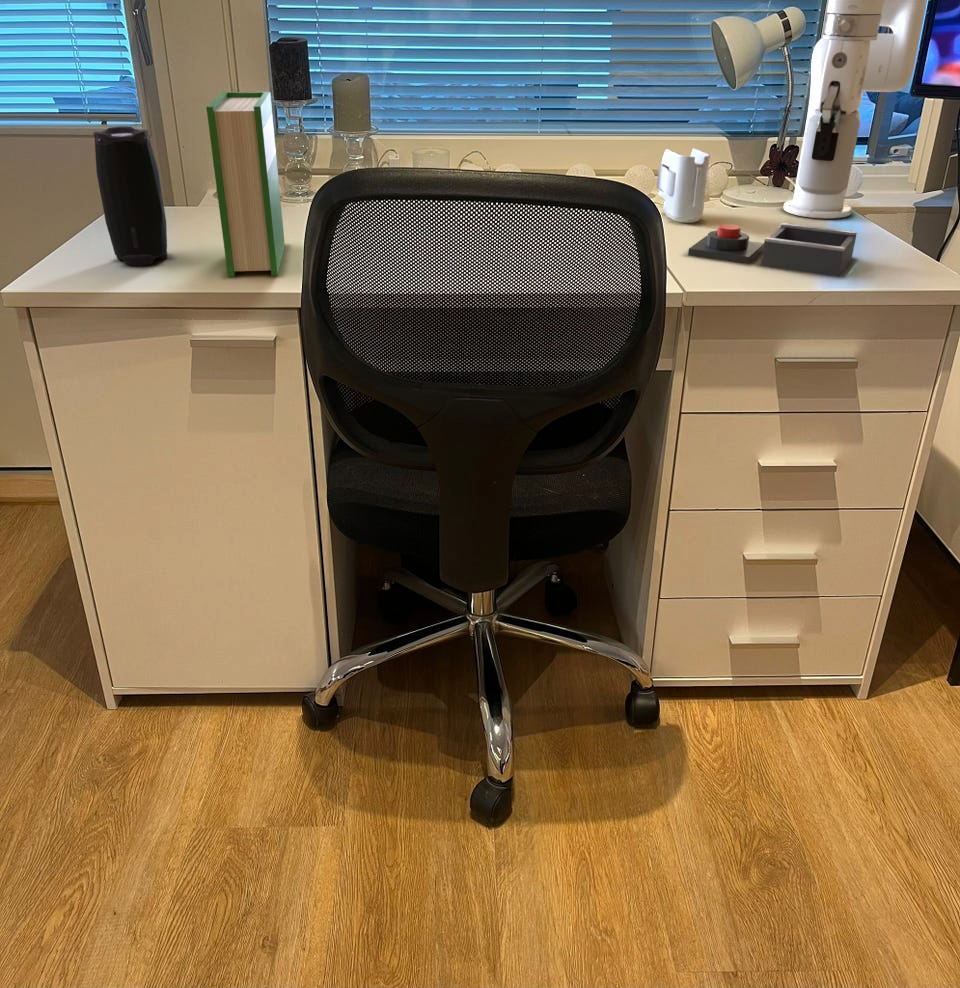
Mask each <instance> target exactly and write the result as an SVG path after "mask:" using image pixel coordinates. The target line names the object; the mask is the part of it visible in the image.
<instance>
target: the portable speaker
mask: <svg viewBox="0 0 960 988" xmlns="http://www.w3.org/2000/svg"><path fill="white" fill-rule="evenodd" d="M93 138H94V151H95V152H94V153H95V154H94V155H95V170H96V177H97V178H96V179H97V182H98V188H99V193H100V200H101V204H102V209H103V215H104V219H105V225H106V228H107V231H108V235H109V239H110V243H111V246H112V249H113V252H114V255H115V256H116V259H117V260H118V261H123V262H124V264H125V265H126V266H129V267H141V266H142V267H143V266H152V265H153V263H154V261H155V260H156V259H158V258H161V257H162V259H163V260H166V259H168V232H167V230H168V229H167V217H166V212H165V211H166V210H165V203H164V197H163V191H162V184H161V178H160V172H159V167H158V163H157V161H156V156H155V154H154V153H155V152H154V150H153V147H152V144H151V139H150V135H149V130H148V129H142V130H141V129H137V128H134V127H133V126H121V125H120V126H113V127H108V128H107V129H105V130H102V131H93Z"/></svg>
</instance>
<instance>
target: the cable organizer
mask: <svg viewBox="0 0 960 988" xmlns="http://www.w3.org/2000/svg"><path fill="white" fill-rule="evenodd" d="M710 158H711V154H709V153H707V152H705V151H704V150H703V151H702V150H700V149H698V148H696V147H693V148H692V151H691V153H690V155H689V156H688V155H683V154H680V153H677V152H675V151H674V150H670V149H668V148H665V150H664V153H663V156H662V158H661V165H658V167H657V169H658V170H657V177H656V189H658V196H659V197H660V198H662V199H664V201H663V207H662V209H663V212H664V214H665V216H666V217H668V218H669V219H671V220H673V221H675V222H678V223H683V224H684V223H686V224H690V223H691V224H692V223H693V224H694V223H696V222H698V221H699V220H701V218H703V215H704V208H705V199H706V192H707V183H708V177H709V175H708V174H709V167H710V160H711V159H710Z"/></svg>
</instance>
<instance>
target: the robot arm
mask: <svg viewBox="0 0 960 988" xmlns="http://www.w3.org/2000/svg"><path fill="white" fill-rule="evenodd" d="M926 5H927V0H828V2H827V8H826V9H827V10H826V15H825V20H824V25H823V31H822V37H821V38H820V39H818V41H817V42H816V44H815V46H814V48H813V51H812V54H811V55H812V56H811V64H810V90H809V99H808V107H807V114H806V121H805V127H804V133H803V139H802V144H801V145H802V146H801V150H800V156H799V162H798V169H797V175H796V178H795V179H796V180H795V184H794V185H795V186H794V191H793V198H792V199H791V200H787V201H785V202H784V203H783V211H784V212H786V213H789V214H791V215H794V216H799V217H803V218H812V219H841V218H847V217H848V216H850V215H851V213H852V207H851V206H850V205H848V204H845V201H846V200H845V199H846V195H847V190H848V187H847V188H846V189H845V190H843V191H842V192H841V193H840V194H837V195H816V194H810V193H806V192H804V191H802V189H801V187H800V186H799V185H798V179H799V173H800V167H801V161H802V155H803V149H804V144H805V138H806V132H807V126H808V120H809V119H810V118H811V117H812V116H813V115H814V114H815V111H814V110H815V109H817V108H818V110H819V112H820V113H821V115H820V119H819V123H818V127H817V131H816V135H815V140H814V146H813V152H812V159H813V160H822V161H832V160H834V156H835V151H836V146H837V140H838V135H839V133H837V129H838V126H839V122H840V118H841V115H842V111H846V115H849V114H851V113H852V112H854V111H855V110H856V111H857V112H858V114H856V117H857V118H858V120H859V121H860V122H861V114H860V110H859V108H860V107H861V105H862V100H863V93H864V92H873V93H875V92H879V93H883V92H884V93H896V92H900V91H902V90H903V89H905V88H906V87H907V86H908V84H909V82H910V81H911V77H912V75H913V71H914V68H915V63H916V57H917V53H918V47H919V42H920V37H921V31H922V26H923V21H924V16H925V11H926ZM880 27H887V28H888V27H889V28H890V29H891V30H892V33H885V32H884V33H883V32H882V33H880V32H879V30H880ZM833 109H837V110H833ZM835 117H836V118H835ZM834 120H835V122H834Z"/></svg>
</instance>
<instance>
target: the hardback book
mask: <svg viewBox="0 0 960 988" xmlns="http://www.w3.org/2000/svg"><path fill="white" fill-rule="evenodd" d="M205 107H206V109H205V110H206V115H207V123H208V131H209V139H210V146H211V147H210V148H211V154H212V163H213V169H214V178H215V185H216V193H217V201H218V209H219V218H220V226H221V232H222V233H221V234H222V240H223V250H224V255H225V264H226V273H227V277H228V278H235V276H236V273H237V272H257V271H258V272H259V271H260V272H262V271H264V272H265V271H270V276H271V277H273V276H274V277H278V276H279V271H280V267H281V264H282V259H283V255H284V251H285V247H286V243H285V241H286V240H285V232H284V224H283V223H284V222H283V212H282V211H283V210H282V201H281V190H280V180H279V170H278V160H277V148H276V138H275V127H274V118H273V107H272V97H271V91H221V92H220V93H219V94H218V95H217V96H216V97H215V98H214V99H213V100H212V101H211V102H210V103H209V104H208V105H206V106H205Z"/></svg>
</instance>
